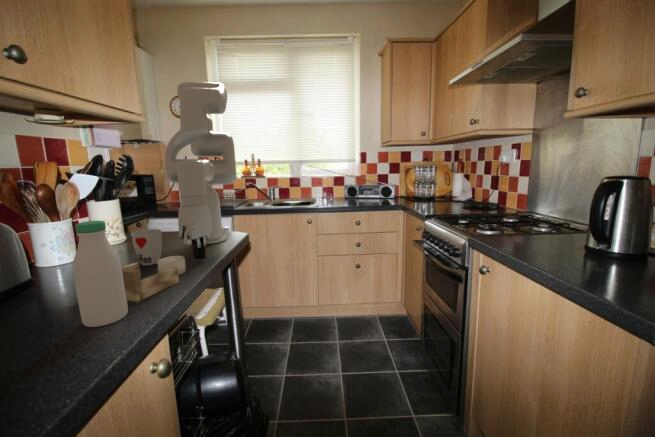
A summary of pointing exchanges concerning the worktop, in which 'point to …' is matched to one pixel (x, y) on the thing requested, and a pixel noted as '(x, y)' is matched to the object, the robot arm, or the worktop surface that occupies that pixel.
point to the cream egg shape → (172, 264)
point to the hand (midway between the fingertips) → (200, 258)
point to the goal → (146, 282)
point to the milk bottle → (98, 277)
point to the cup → (147, 245)
